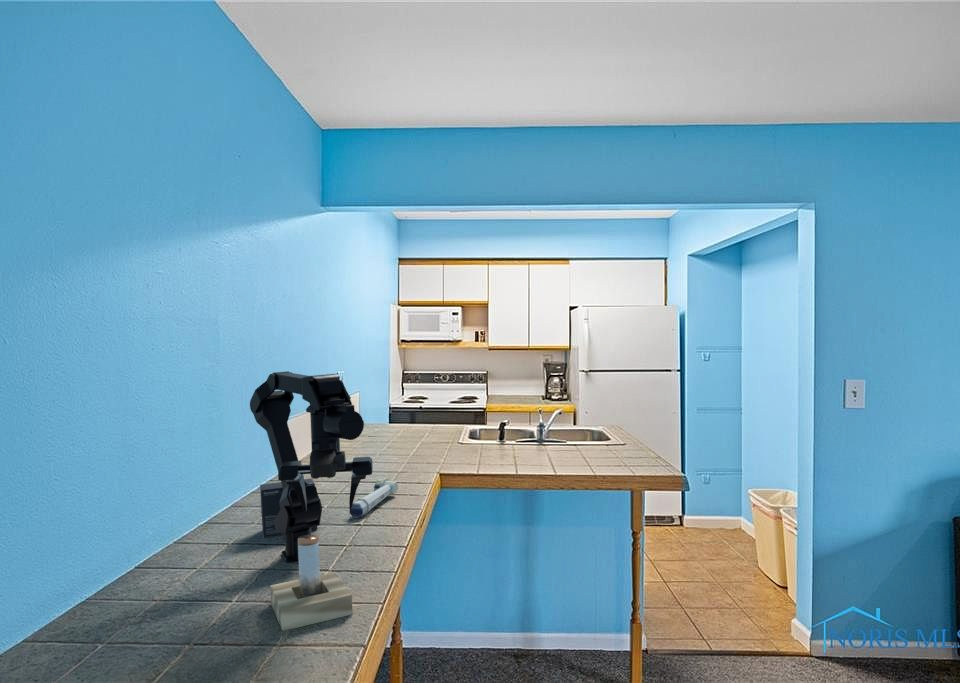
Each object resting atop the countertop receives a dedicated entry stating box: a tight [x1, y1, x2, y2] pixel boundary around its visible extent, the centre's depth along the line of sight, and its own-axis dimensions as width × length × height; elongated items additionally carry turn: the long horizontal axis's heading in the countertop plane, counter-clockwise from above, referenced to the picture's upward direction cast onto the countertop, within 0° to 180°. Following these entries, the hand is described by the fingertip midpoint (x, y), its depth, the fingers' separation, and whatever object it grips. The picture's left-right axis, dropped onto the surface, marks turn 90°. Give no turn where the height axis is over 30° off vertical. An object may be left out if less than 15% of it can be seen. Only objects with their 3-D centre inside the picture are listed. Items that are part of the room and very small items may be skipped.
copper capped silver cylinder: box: [298, 534, 321, 599], centre depth 114 cm, size 4×4×13 cm
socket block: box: [269, 571, 353, 632], centre depth 114 cm, size 12×12×4 cm
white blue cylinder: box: [348, 477, 399, 519], centre depth 180 cm, size 5×7×25 cm
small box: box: [259, 477, 319, 539], centre depth 160 cm, size 13×7×12 cm, turn 111°
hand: (328, 509), depth 131 cm, fingers open, 9 cm apart
